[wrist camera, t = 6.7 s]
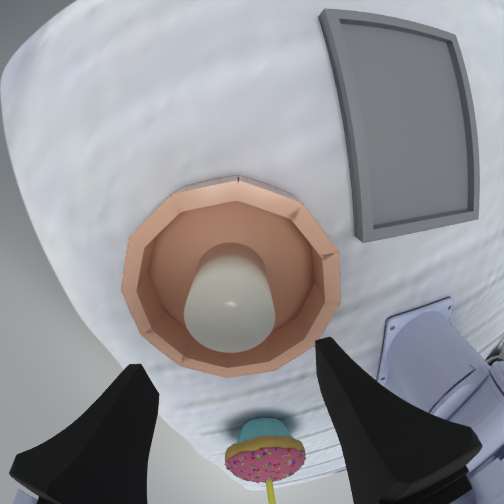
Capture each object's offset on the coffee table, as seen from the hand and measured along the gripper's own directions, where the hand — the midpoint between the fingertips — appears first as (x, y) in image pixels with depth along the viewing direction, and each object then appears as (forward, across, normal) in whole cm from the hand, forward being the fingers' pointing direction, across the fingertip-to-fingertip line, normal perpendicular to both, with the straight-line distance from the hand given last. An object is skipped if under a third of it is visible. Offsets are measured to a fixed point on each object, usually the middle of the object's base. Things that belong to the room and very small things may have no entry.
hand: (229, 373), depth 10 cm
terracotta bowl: (+9, 0, 0) cm, 9 cm away
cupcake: (+10, +1, +20) cm, 22 cm away
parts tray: (+9, -15, -9) cm, 20 cm away
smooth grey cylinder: (+9, 0, 0) cm, 9 cm away
